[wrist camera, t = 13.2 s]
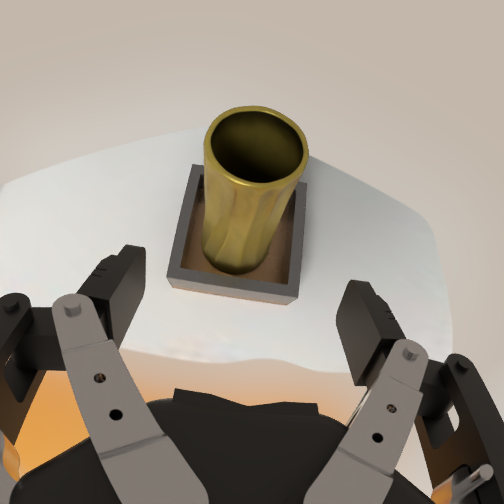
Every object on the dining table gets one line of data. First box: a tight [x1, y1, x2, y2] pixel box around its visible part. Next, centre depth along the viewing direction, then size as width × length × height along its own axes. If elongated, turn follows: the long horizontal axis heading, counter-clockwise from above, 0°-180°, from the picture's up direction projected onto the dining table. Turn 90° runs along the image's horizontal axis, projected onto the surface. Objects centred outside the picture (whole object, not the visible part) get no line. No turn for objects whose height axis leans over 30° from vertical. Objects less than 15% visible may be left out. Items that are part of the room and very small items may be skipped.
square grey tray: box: [166, 164, 307, 305], centre depth 28 cm, size 10×10×4 cm
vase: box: [201, 106, 309, 274], centre depth 22 cm, size 6×6×14 cm
